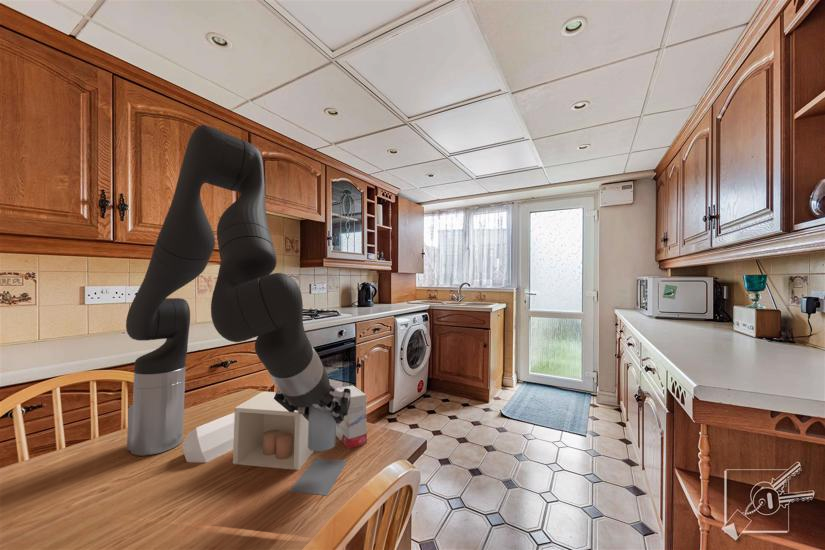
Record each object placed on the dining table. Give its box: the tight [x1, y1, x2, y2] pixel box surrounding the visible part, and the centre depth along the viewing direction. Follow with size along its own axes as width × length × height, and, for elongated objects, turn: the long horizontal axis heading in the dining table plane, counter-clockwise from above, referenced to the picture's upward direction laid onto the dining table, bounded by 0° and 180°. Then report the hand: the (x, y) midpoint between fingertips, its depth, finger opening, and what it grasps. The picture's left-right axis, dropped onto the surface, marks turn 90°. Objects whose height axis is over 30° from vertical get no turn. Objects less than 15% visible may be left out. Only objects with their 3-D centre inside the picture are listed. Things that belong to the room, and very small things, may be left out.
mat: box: [288, 457, 348, 497], centre depth 62 cm, size 7×11×1 cm, turn 173°
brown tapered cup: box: [263, 430, 280, 455], centre depth 70 cm, size 3×3×4 cm
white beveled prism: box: [181, 411, 235, 463], centre depth 76 cm, size 7×7×24 cm
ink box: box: [335, 385, 368, 449], centre depth 77 cm, size 9×5×12 cm, turn 33°
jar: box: [308, 385, 337, 452], centre depth 62 cm, size 5×5×11 cm
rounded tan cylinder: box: [276, 433, 292, 459], centre depth 69 cm, size 3×3×4 cm
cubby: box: [232, 391, 314, 471], centre depth 69 cm, size 14×10×12 cm
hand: (325, 417), depth 64 cm, fingers closed on jar, 5 cm apart
